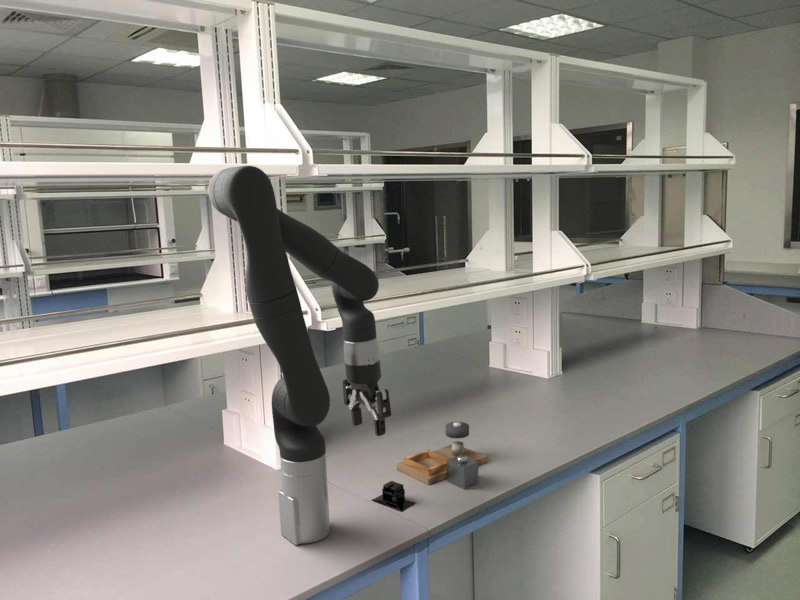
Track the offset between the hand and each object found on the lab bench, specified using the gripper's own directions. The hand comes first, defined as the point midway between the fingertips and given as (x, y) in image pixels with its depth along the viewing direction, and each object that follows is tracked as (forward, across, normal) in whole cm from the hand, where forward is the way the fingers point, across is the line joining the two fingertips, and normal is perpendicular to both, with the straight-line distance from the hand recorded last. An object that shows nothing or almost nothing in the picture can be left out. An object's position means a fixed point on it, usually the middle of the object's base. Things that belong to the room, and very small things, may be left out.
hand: (368, 429), depth 145 cm
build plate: (+19, +2, +4) cm, 19 cm away
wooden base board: (+19, -5, +25) cm, 32 cm away
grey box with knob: (+19, +5, +22) cm, 30 cm away
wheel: (+13, -5, +31) cm, 34 cm away
